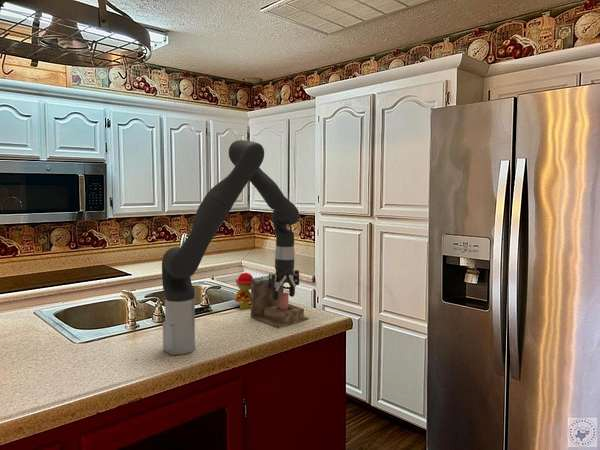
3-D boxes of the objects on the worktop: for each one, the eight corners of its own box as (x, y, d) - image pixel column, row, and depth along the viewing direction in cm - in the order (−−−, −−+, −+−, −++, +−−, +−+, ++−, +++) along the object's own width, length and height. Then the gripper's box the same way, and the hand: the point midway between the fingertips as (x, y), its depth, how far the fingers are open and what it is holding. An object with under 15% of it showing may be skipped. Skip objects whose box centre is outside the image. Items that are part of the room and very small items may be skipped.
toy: (254, 311, 186) (254, 276, 184) (232, 310, 186) (232, 275, 184) (257, 303, 197) (257, 270, 195) (236, 303, 197) (237, 269, 196)
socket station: (277, 328, 166) (278, 287, 164) (250, 317, 178) (251, 278, 176) (308, 319, 177) (309, 280, 175) (280, 309, 189) (281, 273, 187)
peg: (283, 320, 172) (283, 295, 171) (277, 318, 175) (277, 293, 174) (289, 318, 175) (290, 293, 174) (284, 316, 177) (284, 292, 176)
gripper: (277, 260, 165) (276, 303, 167) (304, 256, 175) (303, 297, 176) (264, 257, 170) (263, 299, 172) (291, 254, 180) (290, 293, 182)
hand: (283, 298), depth 174 cm, fingers open, 8 cm apart
